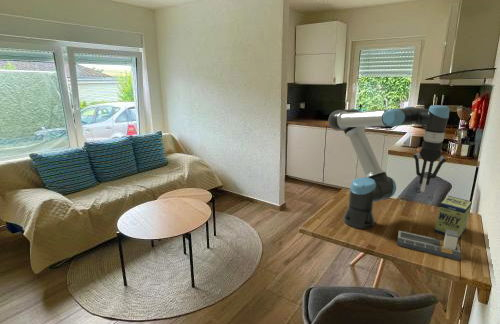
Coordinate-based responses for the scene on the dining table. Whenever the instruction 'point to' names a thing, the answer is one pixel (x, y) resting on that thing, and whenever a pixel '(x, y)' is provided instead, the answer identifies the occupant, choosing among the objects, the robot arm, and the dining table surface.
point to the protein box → (453, 215)
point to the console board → (427, 245)
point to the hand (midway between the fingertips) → (422, 190)
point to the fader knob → (451, 239)
